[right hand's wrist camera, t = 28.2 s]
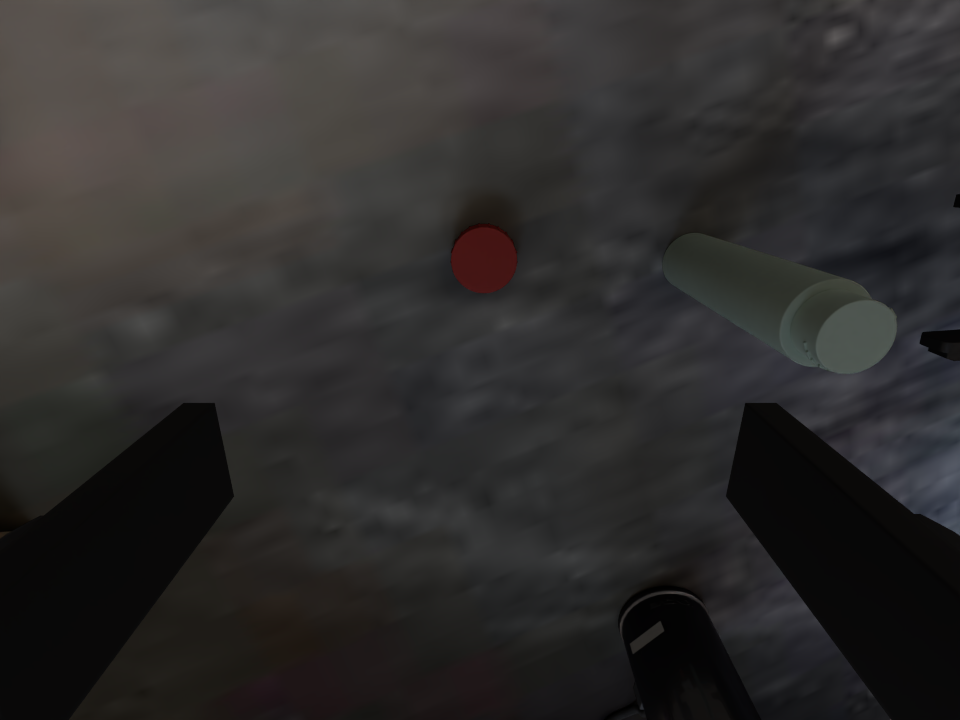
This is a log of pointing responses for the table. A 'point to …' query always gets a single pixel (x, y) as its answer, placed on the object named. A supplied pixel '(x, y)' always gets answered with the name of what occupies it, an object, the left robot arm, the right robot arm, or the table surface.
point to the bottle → (784, 303)
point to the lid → (484, 258)
